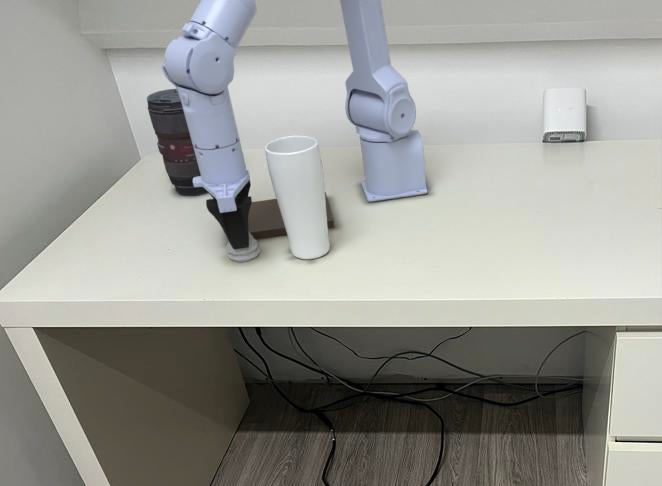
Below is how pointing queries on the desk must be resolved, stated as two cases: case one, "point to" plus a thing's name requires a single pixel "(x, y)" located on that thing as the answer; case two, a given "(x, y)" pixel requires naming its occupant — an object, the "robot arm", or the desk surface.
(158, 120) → the camera lens
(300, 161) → the drinking glass
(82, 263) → the desk surface
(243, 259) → the rook chess piece
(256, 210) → the walnut board
